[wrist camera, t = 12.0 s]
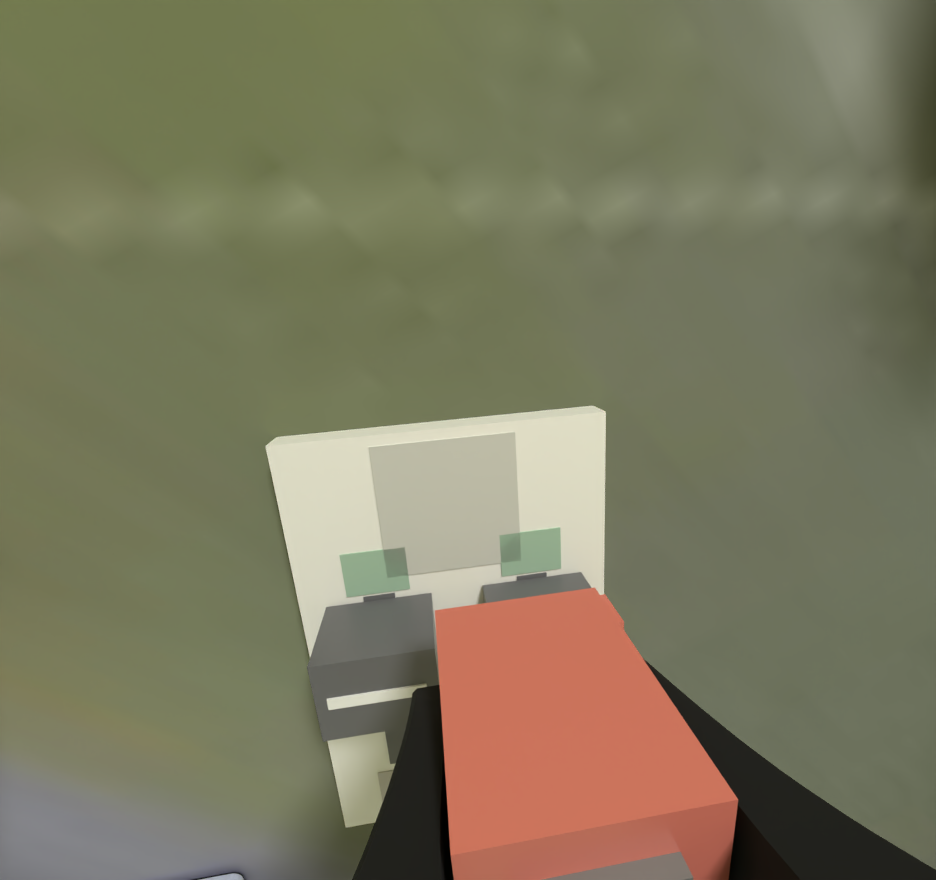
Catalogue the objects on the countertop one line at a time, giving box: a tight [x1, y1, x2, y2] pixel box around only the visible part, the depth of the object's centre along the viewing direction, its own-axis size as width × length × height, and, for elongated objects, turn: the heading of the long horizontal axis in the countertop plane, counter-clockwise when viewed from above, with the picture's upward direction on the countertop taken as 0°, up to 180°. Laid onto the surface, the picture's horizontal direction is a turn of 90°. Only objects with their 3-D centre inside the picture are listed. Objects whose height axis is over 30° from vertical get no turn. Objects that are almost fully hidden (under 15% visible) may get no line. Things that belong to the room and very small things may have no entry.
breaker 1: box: [307, 593, 440, 741], centre depth 16 cm, size 3×4×3 cm
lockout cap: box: [435, 588, 738, 880], centre depth 9 cm, size 4×4×5 cm
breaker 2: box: [482, 572, 624, 630], centre depth 16 cm, size 3×5×3 cm, turn 95°
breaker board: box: [266, 406, 606, 828], centre depth 18 cm, size 18×12×1 cm, turn 4°
